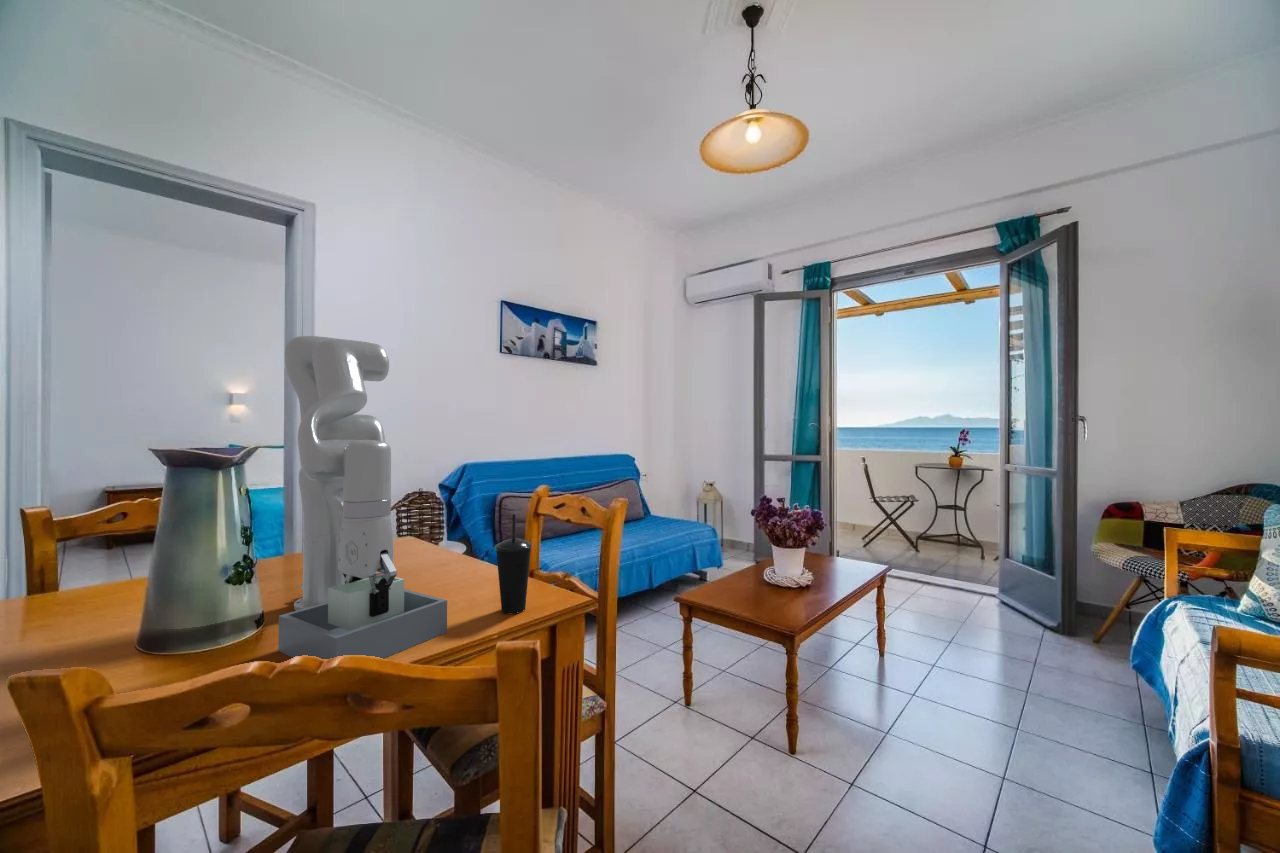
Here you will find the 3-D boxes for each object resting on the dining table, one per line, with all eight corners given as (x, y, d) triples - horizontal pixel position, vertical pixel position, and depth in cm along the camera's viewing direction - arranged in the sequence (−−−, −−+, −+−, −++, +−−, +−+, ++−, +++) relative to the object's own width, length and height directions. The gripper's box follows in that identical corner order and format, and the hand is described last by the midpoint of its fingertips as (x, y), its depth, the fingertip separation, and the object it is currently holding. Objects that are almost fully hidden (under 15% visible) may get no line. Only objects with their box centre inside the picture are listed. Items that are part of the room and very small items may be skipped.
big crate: (278, 651, 85) (278, 615, 85) (389, 614, 102) (389, 584, 102) (335, 677, 76) (336, 638, 76) (446, 632, 93) (447, 600, 93)
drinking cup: (517, 601, 110) (517, 510, 110) (539, 609, 105) (539, 514, 106) (487, 610, 104) (487, 515, 104) (509, 619, 99) (509, 519, 100)
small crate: (327, 623, 86) (328, 588, 86) (383, 606, 95) (383, 574, 95) (348, 630, 83) (349, 594, 83) (404, 612, 91) (404, 579, 92)
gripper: (319, 509, 90) (319, 608, 90) (375, 516, 82) (375, 627, 81) (360, 504, 97) (360, 597, 96) (416, 510, 88) (416, 612, 88)
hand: (367, 609), depth 89 cm, fingers closed on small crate, 6 cm apart
